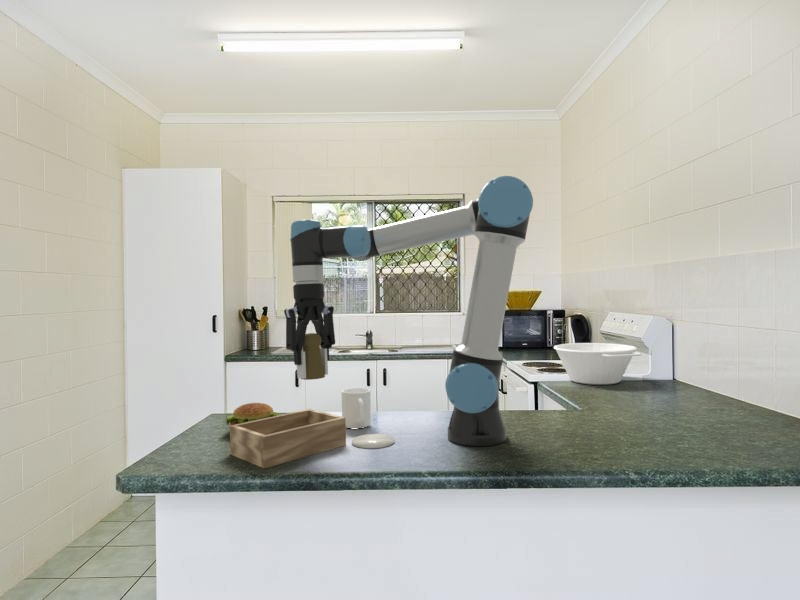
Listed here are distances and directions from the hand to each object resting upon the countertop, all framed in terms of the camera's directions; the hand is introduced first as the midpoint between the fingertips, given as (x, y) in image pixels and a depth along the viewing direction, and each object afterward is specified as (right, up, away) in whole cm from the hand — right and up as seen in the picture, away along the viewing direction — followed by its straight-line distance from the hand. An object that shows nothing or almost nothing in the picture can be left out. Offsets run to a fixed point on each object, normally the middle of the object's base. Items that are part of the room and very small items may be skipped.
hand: (312, 375), depth 133 cm
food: (-20, -18, +18) cm, 32 cm away
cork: (0, -1, 0) cm, 1 cm away
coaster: (+15, -18, +4) cm, 23 cm away
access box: (-6, -18, -1) cm, 19 cm away
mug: (+10, -18, +19) cm, 28 cm away
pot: (+101, -15, +85) cm, 133 cm away
